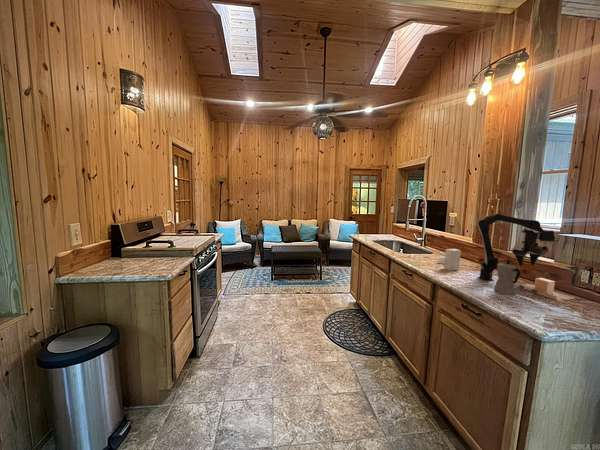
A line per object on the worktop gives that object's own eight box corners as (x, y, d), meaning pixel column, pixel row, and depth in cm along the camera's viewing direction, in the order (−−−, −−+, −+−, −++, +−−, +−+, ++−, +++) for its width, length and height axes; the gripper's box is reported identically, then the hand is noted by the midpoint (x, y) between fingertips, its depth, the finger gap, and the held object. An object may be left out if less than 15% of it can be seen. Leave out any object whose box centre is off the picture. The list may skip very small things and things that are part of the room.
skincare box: (452, 268, 197) (455, 248, 195) (459, 270, 191) (461, 250, 189) (443, 268, 195) (445, 248, 193) (449, 270, 189) (451, 250, 188)
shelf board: (555, 302, 137) (555, 296, 137) (512, 287, 158) (512, 282, 158) (574, 300, 141) (575, 294, 140) (530, 285, 162) (531, 281, 161)
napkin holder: (459, 265, 208) (459, 258, 207) (452, 267, 201) (453, 259, 200) (439, 261, 220) (440, 254, 219) (432, 262, 213) (433, 255, 212)
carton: (546, 294, 145) (548, 281, 144) (533, 290, 151) (535, 278, 150) (553, 293, 146) (554, 281, 145) (539, 289, 152) (541, 277, 151)
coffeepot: (487, 287, 156) (491, 257, 154) (503, 288, 156) (507, 258, 154) (507, 297, 141) (512, 264, 139) (525, 298, 141) (530, 265, 139)
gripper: (532, 243, 151) (529, 269, 153) (557, 242, 156) (553, 268, 157) (513, 239, 162) (509, 264, 164) (536, 239, 166) (532, 263, 168)
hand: (526, 265), depth 163 cm, fingers open, 9 cm apart
